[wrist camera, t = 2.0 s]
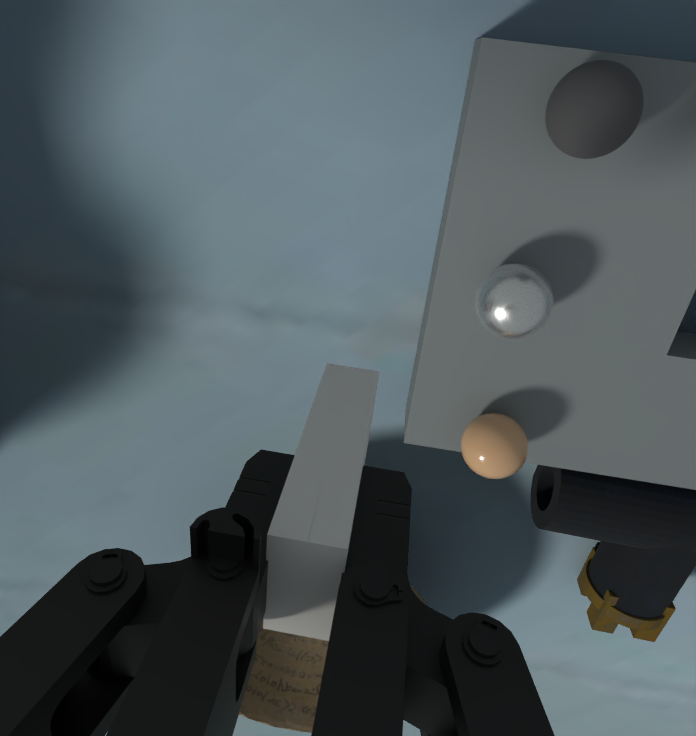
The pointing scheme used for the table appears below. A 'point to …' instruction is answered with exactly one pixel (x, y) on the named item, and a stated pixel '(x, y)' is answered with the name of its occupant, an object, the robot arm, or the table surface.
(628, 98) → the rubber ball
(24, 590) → the table surface
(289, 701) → the bowl
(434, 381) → the slate board
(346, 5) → the table surface
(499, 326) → the steel ball
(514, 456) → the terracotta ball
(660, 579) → the pipe connector
